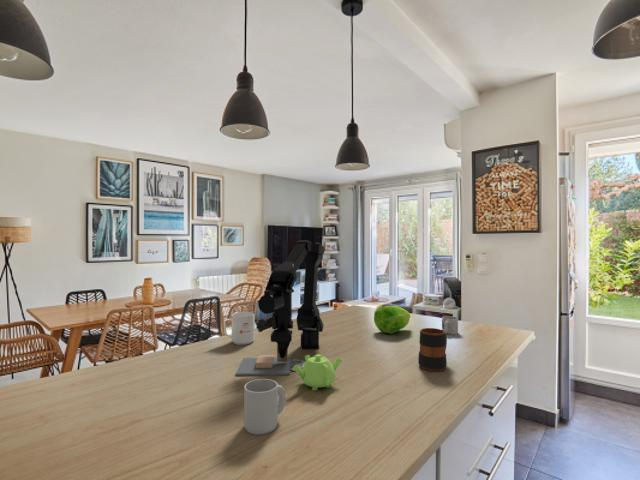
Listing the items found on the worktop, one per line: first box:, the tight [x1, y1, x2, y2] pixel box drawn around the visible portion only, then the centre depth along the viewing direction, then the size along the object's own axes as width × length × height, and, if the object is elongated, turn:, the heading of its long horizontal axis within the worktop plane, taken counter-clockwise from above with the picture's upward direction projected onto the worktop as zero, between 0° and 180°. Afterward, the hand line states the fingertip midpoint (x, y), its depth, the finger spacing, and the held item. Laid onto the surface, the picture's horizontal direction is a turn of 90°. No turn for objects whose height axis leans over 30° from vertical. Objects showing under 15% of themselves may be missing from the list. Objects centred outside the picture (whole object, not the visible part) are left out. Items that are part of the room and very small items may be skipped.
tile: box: [256, 354, 275, 368], centre depth 113 cm, size 5×2×7 cm
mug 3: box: [441, 315, 459, 336], centre depth 154 cm, size 10×7×7 cm, turn 144°
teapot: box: [293, 353, 342, 392], centre depth 99 cm, size 11×12×8 cm
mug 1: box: [223, 311, 256, 346], centre depth 139 cm, size 12×9×11 cm
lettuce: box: [373, 305, 411, 335], centre depth 157 cm, size 14×20×12 cm
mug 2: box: [417, 327, 448, 372], centre depth 114 cm, size 9×12×12 cm
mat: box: [235, 356, 292, 377], centre depth 112 cm, size 16×14×1 cm
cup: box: [243, 378, 287, 436], centre depth 78 cm, size 7×10×9 cm
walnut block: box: [276, 343, 289, 362], centre depth 114 cm, size 3×3×6 cm
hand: (282, 356), depth 114 cm, fingers closed on walnut block, 3 cm apart
